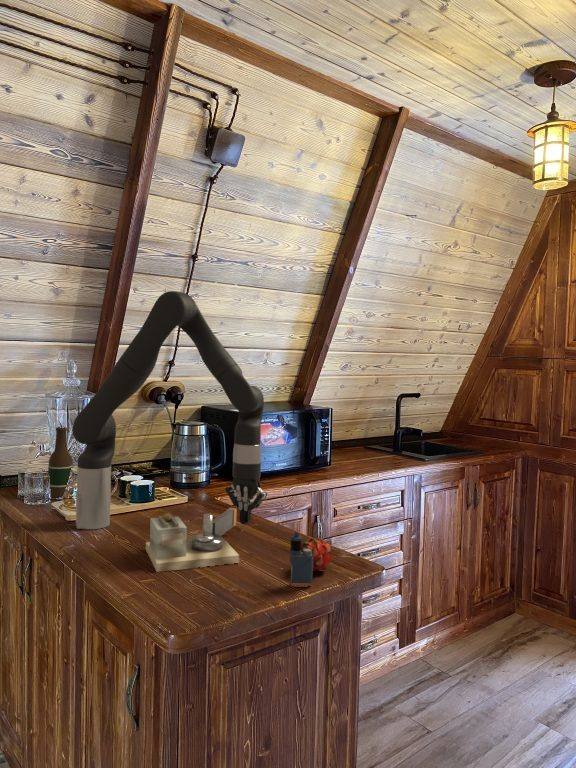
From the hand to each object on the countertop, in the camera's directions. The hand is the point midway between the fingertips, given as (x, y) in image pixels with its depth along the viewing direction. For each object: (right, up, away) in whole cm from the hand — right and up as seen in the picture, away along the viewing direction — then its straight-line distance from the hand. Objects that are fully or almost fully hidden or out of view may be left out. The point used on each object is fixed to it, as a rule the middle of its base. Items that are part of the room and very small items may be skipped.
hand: (245, 523), depth 160 cm
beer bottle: (-66, -1, +40) cm, 77 cm away
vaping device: (+14, -8, -27) cm, 32 cm away
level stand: (-13, -6, -11) cm, 18 cm away
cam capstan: (-7, -3, -3) cm, 8 cm away
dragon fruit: (+18, -7, -17) cm, 26 cm away
